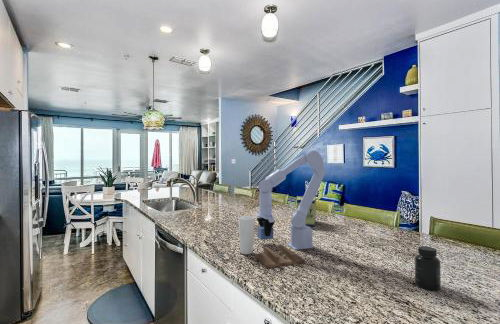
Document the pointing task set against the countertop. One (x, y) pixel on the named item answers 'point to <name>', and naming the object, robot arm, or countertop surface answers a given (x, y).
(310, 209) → the protein box
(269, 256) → the shelf frame
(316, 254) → the countertop surface
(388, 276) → the countertop surface
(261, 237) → the shelf block
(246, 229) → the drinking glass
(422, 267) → the supplement bottle
